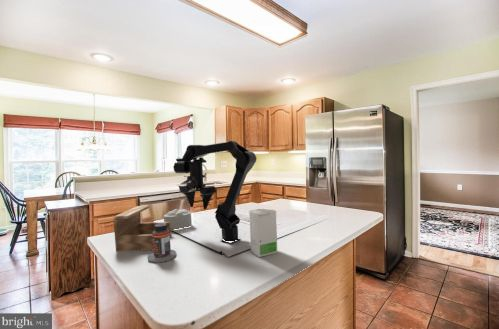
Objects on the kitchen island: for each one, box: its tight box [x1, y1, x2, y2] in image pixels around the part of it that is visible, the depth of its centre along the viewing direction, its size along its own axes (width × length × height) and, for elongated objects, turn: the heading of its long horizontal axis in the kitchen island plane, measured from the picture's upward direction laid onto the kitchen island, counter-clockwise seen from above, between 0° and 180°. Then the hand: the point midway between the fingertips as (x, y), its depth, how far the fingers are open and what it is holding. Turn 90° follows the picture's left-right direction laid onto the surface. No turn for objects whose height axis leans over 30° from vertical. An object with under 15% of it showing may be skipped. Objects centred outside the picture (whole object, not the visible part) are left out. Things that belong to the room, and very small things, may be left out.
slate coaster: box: [146, 249, 177, 264], centre depth 93 cm, size 10×10×1 cm
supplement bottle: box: [152, 223, 172, 257], centre depth 92 cm, size 6×6×11 cm
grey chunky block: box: [163, 208, 193, 232], centre depth 129 cm, size 10×13×9 cm
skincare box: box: [248, 207, 278, 258], centre depth 92 cm, size 8×7×16 cm
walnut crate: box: [113, 205, 172, 252], centre depth 109 cm, size 16×18×14 cm
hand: (198, 208), depth 112 cm, fingers open, 9 cm apart
